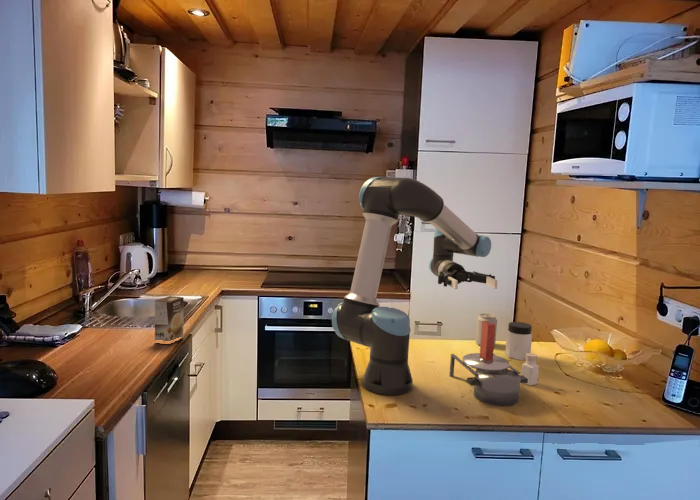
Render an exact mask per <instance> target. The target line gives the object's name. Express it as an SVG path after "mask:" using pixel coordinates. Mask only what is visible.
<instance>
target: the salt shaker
mask: <svg viewBox="0 0 700 500" xmlns="http://www.w3.org/2000/svg"><path fill="white" fill-rule="evenodd" d="M537 358H538V356H537V354H535V353H533V352H531V353H527V354H526V359H525V362H524V363H522V364H521V371H520V375H523V376H524V377H526V378H527V379H528V383H523V384H525V385H527V386H530V387H531V386H534V385H537V384H538V380H539V369H540V366H539V365H538V364H537Z"/></svg>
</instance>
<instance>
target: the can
mask: <svg viewBox="0 0 700 500" xmlns="http://www.w3.org/2000/svg"><path fill="white" fill-rule="evenodd" d="M496 317H497V316H496V315H494V314H492V313H485V312H484V313H480V314H479V316H477V322H476V332H475V333H476V334H475V335H476V336H475V343H476V344H477V345H478V346H479V347H480V345H481V332H482V321H490V322H492V323H494V324H495V337H494V346H496V340H497V338H496V337H497V325H498V319H497V318H496Z"/></svg>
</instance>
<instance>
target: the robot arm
mask: <svg viewBox="0 0 700 500" xmlns="http://www.w3.org/2000/svg"><path fill="white" fill-rule="evenodd" d="M358 202H359V206H360V207H361V209H362V217H364V219H365V224H364V228H363V232H362V237H361V241H360V245H359V251H358V255H357V258H356V259H357V260H356V264H355V269H354V273H353V277H352V282H351V285H350V286H351V287H350V290H349V291H350V292H349V293H347V294H346V295H345V296H344V297H343V301H342V302H339V303H338V304H337V305H336V307H335V308H334V309H333V310H332V311H333V312H332V315H331V326H332V329H333V331H334V333H335V334H336V335H337V336H338V338H341V339H343V340H345V341H347V342H352V343H355V344H358V345H361V346H364V347H367V348H369V361H368V363H367V366H366V369H365V372H364V374H363V378H362V385H363V387H364V388H365V389H366V390H368V391H369V392H372V393H375V394H378V395H386V396H399V395H403V394H407V393H409V392H410V391H411V390H412V389H413V381H414V380H413V376H412V373H411V369H410V366H409V349H410V335H411V334H410V333H411V320H410V316H409V315H408V314H407V313H406V312H405V311H403V310H401V309H399V308H395V307H390V306H389V307H388V306H380V302H379V300H377V296H378V295H377V294H378V291H379V286H380V281H381V278H382V272H383V268H384V263H385V260H386V259H385V258H386V254H387V249H388V247H389V240H390V237H391V230H392V227H393V225H395V224H397V223H398V222H399V217H400V216H401V215H402V216H410V217H415V218H418V219H419V220H420V221H422V222H424V223H429V224H430V225H431V226H433V227H434V228H435V229H434V236H433V250H432V252H433V255H432V258H431V259H430V260H429V263H428V268H429V270H430V272H431V273H432V274H433V275H434V276H436V277H437V284H438V285H441V284H443V287H448V286H449V287H451V288H453V289H454V290H458V286H459V285H460V284H461V283H464V282H466V283H472V282H474V283H480V284H485V285H486V286H488V287H489V288H492V289H494V290H495V289H498V280H497V279H496V275H492V274H490V273H489V274H486V273H480V272H478V271H475V270H474V271H468V270H465V267H464V266H463V265H461V264H460V263H457V262H455V261H454V254H461V255H465V256H472V257H476V258H478V257H480V258H485V257H487V256H488V255H489V254H490V252H491V250H492V241H491V239H490V237H489V236H487V235H485V236H484V235H483V234H482V235H479V234H478V233H476V232H475V231H474V230H473V229H471V228H470V226H468V225H467V223H466V222H464V220H462V219H461V218H460V217H459V216H457V214H455V212H453V211H452V210H451V209H450V208H449V207H448V206H447V205H445V202H444V199H443V198H442V196H441V195H439V193H438V192H436V191H435V190H434V189H432V188H431V187H429V186H428V185H426V184H424V183H423V182H421V181H419V180H417V179H414V178H410V177H393V176H384V175H382V176H375V177H374V176H373V177H370V178H369V179H367V180H366V181H365V182H364V183H363V184H362V186H361V188H360V189H359V194H358Z"/></svg>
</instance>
